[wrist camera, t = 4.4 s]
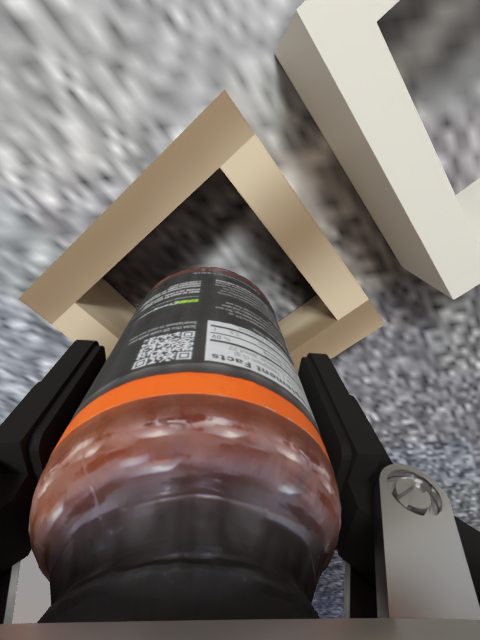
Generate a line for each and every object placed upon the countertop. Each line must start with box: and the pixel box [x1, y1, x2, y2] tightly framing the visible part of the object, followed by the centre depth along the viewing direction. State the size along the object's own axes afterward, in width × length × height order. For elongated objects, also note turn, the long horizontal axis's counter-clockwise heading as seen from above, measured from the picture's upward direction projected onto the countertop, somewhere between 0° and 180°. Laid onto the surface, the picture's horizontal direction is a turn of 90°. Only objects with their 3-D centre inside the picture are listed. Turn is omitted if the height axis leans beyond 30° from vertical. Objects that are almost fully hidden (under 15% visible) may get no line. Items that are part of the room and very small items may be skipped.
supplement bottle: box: [28, 267, 341, 623], centre depth 9 cm, size 6×6×11 cm
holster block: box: [19, 90, 385, 374], centre depth 14 cm, size 11×11×3 cm
